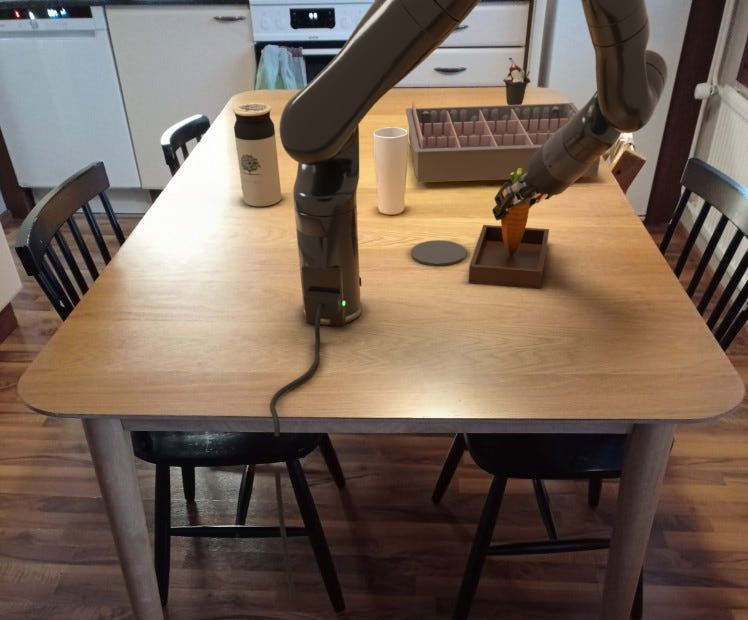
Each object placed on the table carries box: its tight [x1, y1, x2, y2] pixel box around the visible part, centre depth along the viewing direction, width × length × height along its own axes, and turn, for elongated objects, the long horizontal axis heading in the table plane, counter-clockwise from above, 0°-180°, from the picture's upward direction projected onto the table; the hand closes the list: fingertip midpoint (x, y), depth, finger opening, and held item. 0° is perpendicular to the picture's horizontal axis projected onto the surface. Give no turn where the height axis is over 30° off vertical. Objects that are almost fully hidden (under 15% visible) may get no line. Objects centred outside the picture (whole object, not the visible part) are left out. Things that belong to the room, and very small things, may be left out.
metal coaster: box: [410, 240, 467, 267], centre depth 141 cm, size 10×10×1 cm
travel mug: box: [232, 102, 282, 208], centre depth 158 cm, size 8×8×18 cm
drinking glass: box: [372, 126, 409, 216], centre depth 153 cm, size 7×7×15 cm
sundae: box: [502, 57, 531, 105], centre depth 196 cm, size 7×7×15 cm
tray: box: [468, 224, 550, 289], centre depth 137 cm, size 18×12×3 cm, turn 167°
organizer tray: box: [405, 100, 601, 183], centre depth 175 cm, size 32×40×10 cm
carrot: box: [500, 168, 530, 255], centre depth 134 cm, size 5×5×15 cm
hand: (508, 211), depth 136 cm, fingers closed on carrot, 4 cm apart
